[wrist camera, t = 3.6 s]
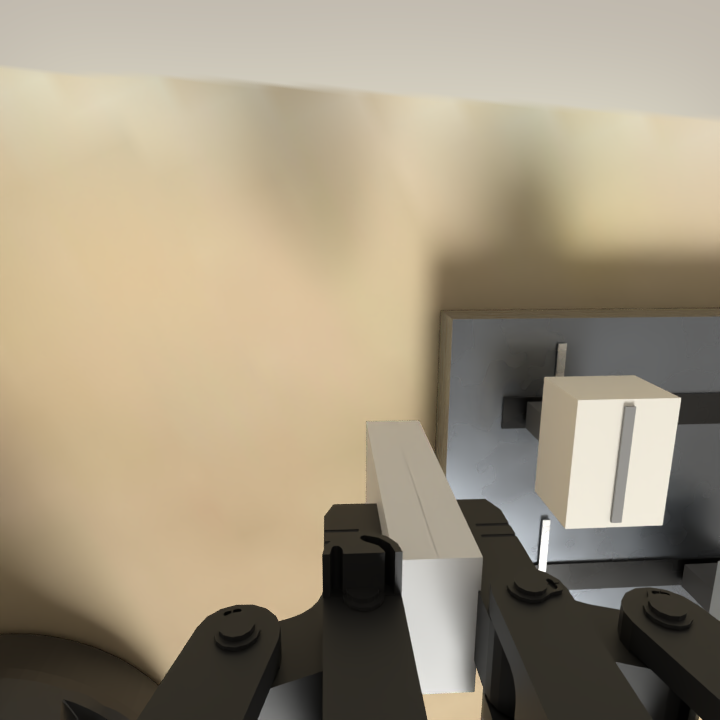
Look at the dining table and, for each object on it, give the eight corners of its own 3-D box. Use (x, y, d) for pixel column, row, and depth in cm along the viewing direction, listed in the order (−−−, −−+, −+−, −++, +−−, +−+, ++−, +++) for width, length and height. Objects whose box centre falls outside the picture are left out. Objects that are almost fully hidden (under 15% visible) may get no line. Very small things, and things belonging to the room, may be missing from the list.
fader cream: (514, 465, 21) (566, 530, 16) (522, 361, 20) (579, 401, 15) (592, 463, 21) (664, 527, 17) (603, 360, 20) (683, 398, 16)
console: (428, 621, 25) (439, 658, 23) (440, 310, 21) (453, 320, 19) (887, 599, 26) (937, 631, 24) (966, 305, 23) (1030, 313, 21)
